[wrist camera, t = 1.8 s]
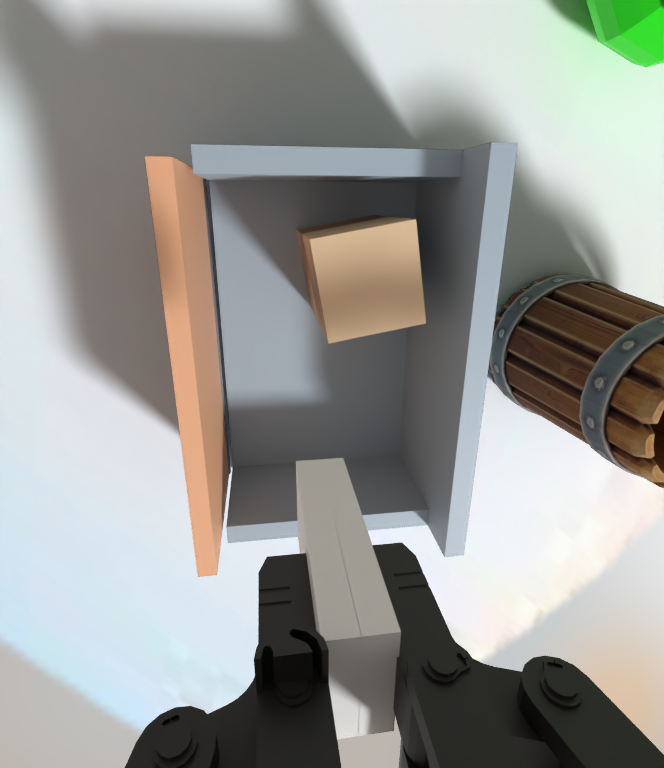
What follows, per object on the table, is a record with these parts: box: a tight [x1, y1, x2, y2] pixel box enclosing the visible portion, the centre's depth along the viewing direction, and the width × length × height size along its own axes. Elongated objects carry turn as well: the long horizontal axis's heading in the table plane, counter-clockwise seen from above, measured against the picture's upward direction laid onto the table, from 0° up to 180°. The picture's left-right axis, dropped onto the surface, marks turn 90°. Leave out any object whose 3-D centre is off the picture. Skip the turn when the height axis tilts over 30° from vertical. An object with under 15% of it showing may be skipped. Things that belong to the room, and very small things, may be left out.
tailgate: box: [145, 156, 231, 577], centre depth 27 cm, size 20×1×11 cm, turn 0°
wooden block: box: [296, 215, 426, 343], centre depth 26 cm, size 5×5×9 cm
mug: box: [489, 274, 664, 488], centre depth 30 cm, size 16×11×15 cm
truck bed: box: [191, 142, 518, 557], centre depth 28 cm, size 22×14×12 cm, turn 0°
